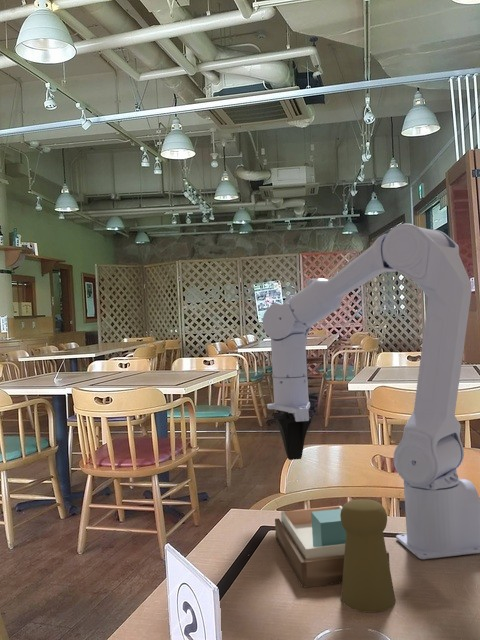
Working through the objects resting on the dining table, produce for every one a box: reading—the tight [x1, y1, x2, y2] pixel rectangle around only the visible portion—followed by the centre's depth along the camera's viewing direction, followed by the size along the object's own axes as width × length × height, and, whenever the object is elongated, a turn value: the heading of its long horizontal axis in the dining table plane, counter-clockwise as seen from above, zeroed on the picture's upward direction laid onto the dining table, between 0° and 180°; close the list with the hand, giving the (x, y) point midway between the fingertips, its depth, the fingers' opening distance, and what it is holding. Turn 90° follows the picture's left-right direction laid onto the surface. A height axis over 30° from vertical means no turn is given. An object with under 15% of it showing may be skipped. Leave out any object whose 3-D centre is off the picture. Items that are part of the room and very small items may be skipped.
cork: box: [340, 498, 397, 613], centre depth 65 cm, size 6×6×11 cm
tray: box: [280, 505, 345, 559], centre depth 78 cm, size 9×15×3 cm, turn 8°
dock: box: [274, 518, 391, 588], centre depth 77 cm, size 11×16×3 cm
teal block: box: [311, 509, 346, 547], centre depth 74 cm, size 4×4×4 cm
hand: (294, 458), depth 95 cm, fingers closed
